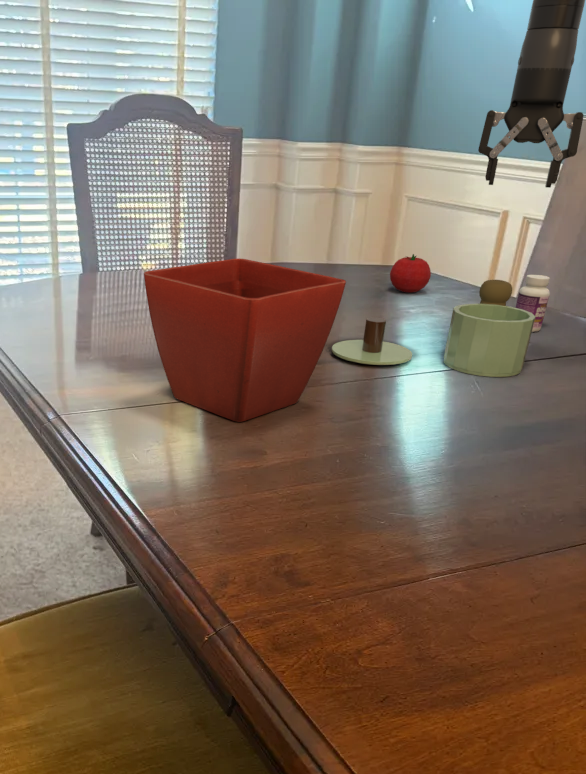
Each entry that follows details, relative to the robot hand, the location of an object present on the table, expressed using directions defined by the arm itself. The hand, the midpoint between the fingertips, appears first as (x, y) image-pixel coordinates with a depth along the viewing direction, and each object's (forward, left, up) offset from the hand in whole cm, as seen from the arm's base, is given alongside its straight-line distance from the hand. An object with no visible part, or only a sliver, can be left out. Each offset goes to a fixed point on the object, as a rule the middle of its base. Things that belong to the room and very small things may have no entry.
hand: (518, 185), depth 123 cm
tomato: (-24, -37, -26) cm, 51 cm away
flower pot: (+56, -1, -26) cm, 61 cm away
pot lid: (+23, -6, -25) cm, 34 cm away
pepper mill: (0, 0, -26) cm, 26 cm away
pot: (+11, +7, -26) cm, 29 cm away
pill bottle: (-17, -3, -26) cm, 31 cm away
